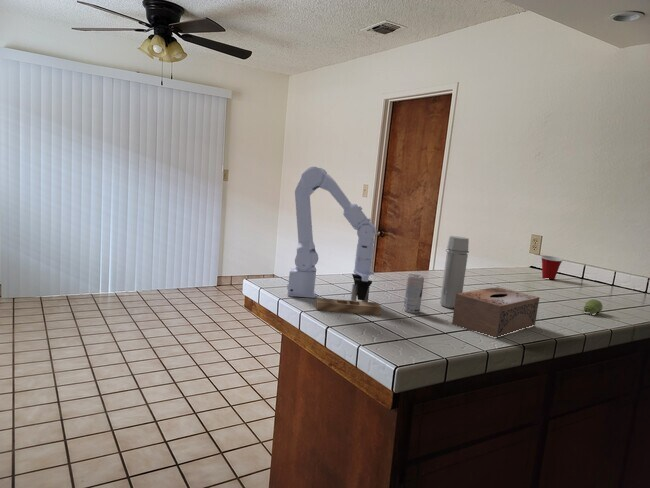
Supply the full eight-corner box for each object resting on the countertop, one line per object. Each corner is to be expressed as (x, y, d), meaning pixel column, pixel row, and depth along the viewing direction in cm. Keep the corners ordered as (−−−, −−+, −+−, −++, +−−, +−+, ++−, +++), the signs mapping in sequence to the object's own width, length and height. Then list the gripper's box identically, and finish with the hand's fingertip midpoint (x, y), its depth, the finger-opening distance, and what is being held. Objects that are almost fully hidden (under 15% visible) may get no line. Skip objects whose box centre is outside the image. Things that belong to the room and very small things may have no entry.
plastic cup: (540, 279, 238) (544, 257, 237) (534, 275, 249) (538, 254, 247) (562, 282, 237) (566, 260, 235) (555, 278, 247) (559, 257, 246)
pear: (605, 300, 173) (596, 307, 167) (603, 312, 174) (594, 320, 168) (589, 296, 177) (580, 303, 171) (588, 308, 178) (578, 316, 172)
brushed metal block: (351, 303, 152) (353, 285, 152) (350, 301, 155) (352, 284, 154) (367, 304, 153) (369, 287, 152) (366, 302, 155) (368, 285, 154)
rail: (316, 309, 140) (317, 302, 140) (316, 305, 146) (316, 297, 145) (380, 315, 142) (381, 307, 141) (377, 310, 147) (378, 302, 147)
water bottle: (445, 302, 167) (454, 235, 164) (464, 307, 162) (474, 239, 158) (432, 305, 161) (441, 236, 157) (451, 311, 155) (461, 239, 152)
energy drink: (420, 310, 152) (425, 275, 150) (418, 314, 147) (423, 278, 145) (404, 307, 153) (409, 273, 152) (402, 311, 148) (406, 275, 147)
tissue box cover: (495, 339, 129) (500, 306, 128) (451, 324, 140) (456, 293, 138) (534, 327, 146) (539, 297, 145) (493, 314, 157) (497, 286, 156)
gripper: (379, 263, 145) (374, 304, 147) (372, 255, 159) (368, 293, 161) (357, 261, 144) (353, 302, 146) (352, 254, 159) (348, 291, 161)
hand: (359, 297), depth 154 cm, fingers open, 6 cm apart
